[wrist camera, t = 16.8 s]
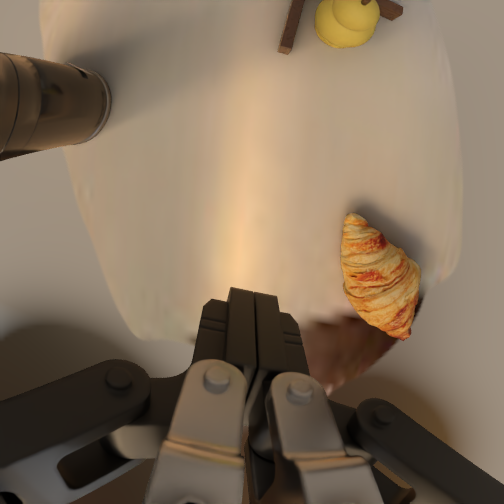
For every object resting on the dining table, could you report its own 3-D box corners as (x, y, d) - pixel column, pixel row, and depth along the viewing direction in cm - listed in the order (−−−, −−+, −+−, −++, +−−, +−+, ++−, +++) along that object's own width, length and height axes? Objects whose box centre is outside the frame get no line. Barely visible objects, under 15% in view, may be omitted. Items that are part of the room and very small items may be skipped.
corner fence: (277, 52, 30) (280, 45, 27) (297, -21, 26) (301, -32, 23) (378, 85, 31) (388, 82, 28) (393, 13, 27) (403, 7, 24)
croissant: (318, 215, 41) (302, 250, 35) (389, 187, 34) (387, 220, 29) (379, 325, 47) (372, 365, 41) (438, 311, 41) (438, 353, 35)
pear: (304, 43, 29) (327, 14, 19) (314, -1, 27) (338, -40, 17) (358, 60, 30) (398, 40, 20) (366, 15, 28) (405, -14, 18)
